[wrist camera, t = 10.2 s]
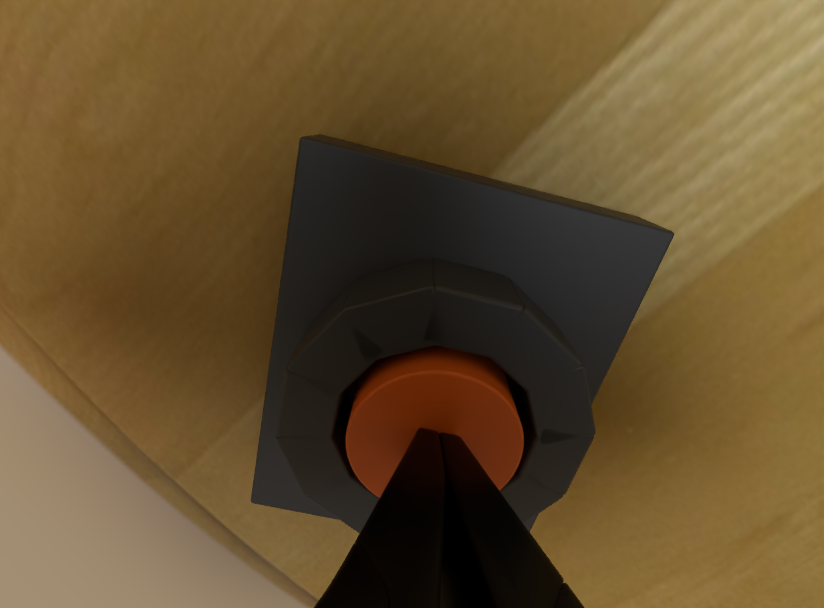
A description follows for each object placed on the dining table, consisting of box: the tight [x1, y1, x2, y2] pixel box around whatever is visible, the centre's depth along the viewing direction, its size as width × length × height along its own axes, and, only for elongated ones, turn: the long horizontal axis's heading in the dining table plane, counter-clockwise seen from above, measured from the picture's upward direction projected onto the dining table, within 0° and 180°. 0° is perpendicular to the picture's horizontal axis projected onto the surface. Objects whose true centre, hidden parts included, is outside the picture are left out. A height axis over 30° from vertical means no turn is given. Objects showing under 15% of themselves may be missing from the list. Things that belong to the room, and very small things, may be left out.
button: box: [346, 345, 524, 498], centre depth 10 cm, size 4×4×2 cm
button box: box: [251, 134, 674, 533], centre depth 11 cm, size 8×10×4 cm
